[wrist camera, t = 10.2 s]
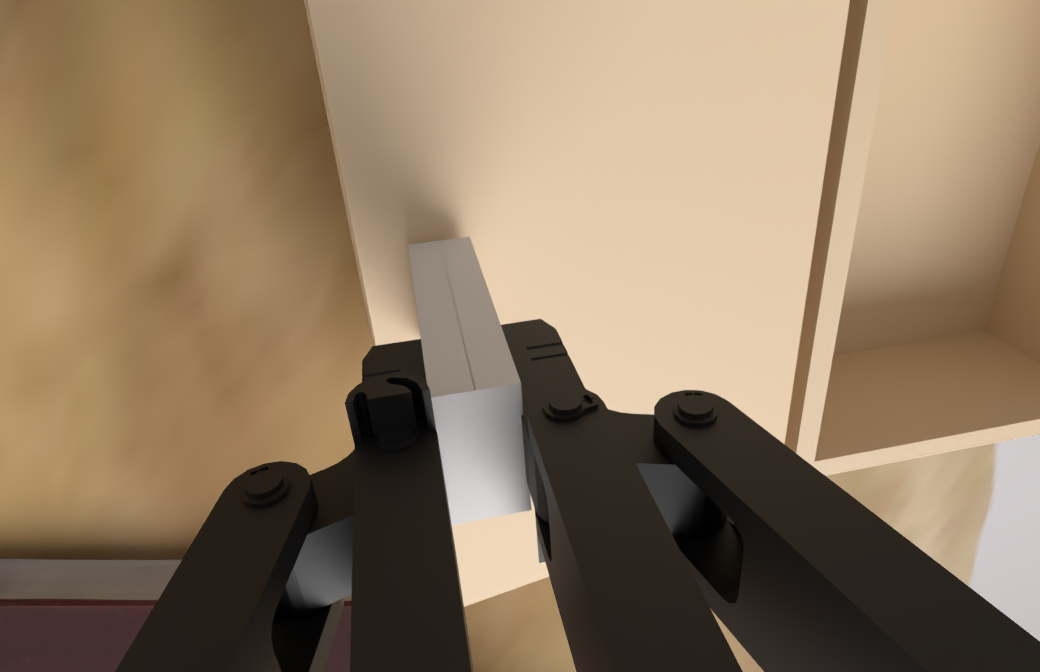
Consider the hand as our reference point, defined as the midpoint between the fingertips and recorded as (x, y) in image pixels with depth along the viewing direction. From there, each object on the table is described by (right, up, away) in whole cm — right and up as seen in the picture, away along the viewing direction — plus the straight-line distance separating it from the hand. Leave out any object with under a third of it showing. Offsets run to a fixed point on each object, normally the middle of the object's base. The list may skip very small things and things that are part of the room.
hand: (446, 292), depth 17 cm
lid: (+4, +1, +2) cm, 5 cm away
